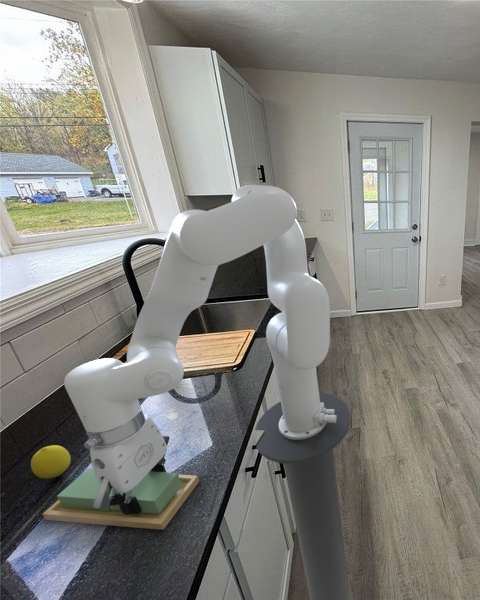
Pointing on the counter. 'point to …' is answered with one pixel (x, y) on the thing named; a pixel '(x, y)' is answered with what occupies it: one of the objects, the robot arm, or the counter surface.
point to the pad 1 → (82, 493)
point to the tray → (119, 518)
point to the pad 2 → (154, 491)
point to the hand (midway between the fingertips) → (147, 495)
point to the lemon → (50, 461)
